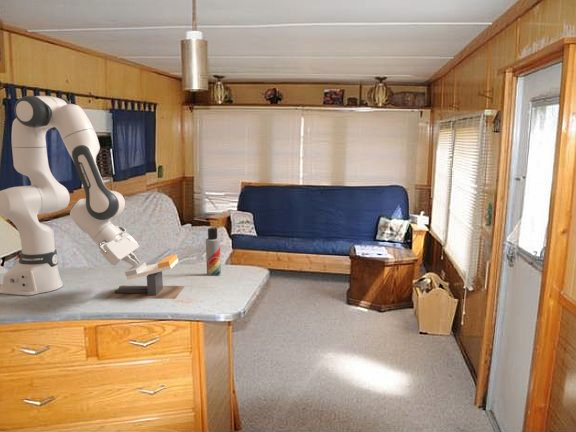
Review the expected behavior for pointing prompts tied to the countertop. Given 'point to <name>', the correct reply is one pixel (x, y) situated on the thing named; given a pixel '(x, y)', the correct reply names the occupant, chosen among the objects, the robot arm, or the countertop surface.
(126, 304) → the countertop surface
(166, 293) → the mounting board
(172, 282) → the countertop surface
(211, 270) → the lotion bottle
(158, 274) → the block
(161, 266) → the block
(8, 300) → the countertop surface
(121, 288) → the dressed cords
